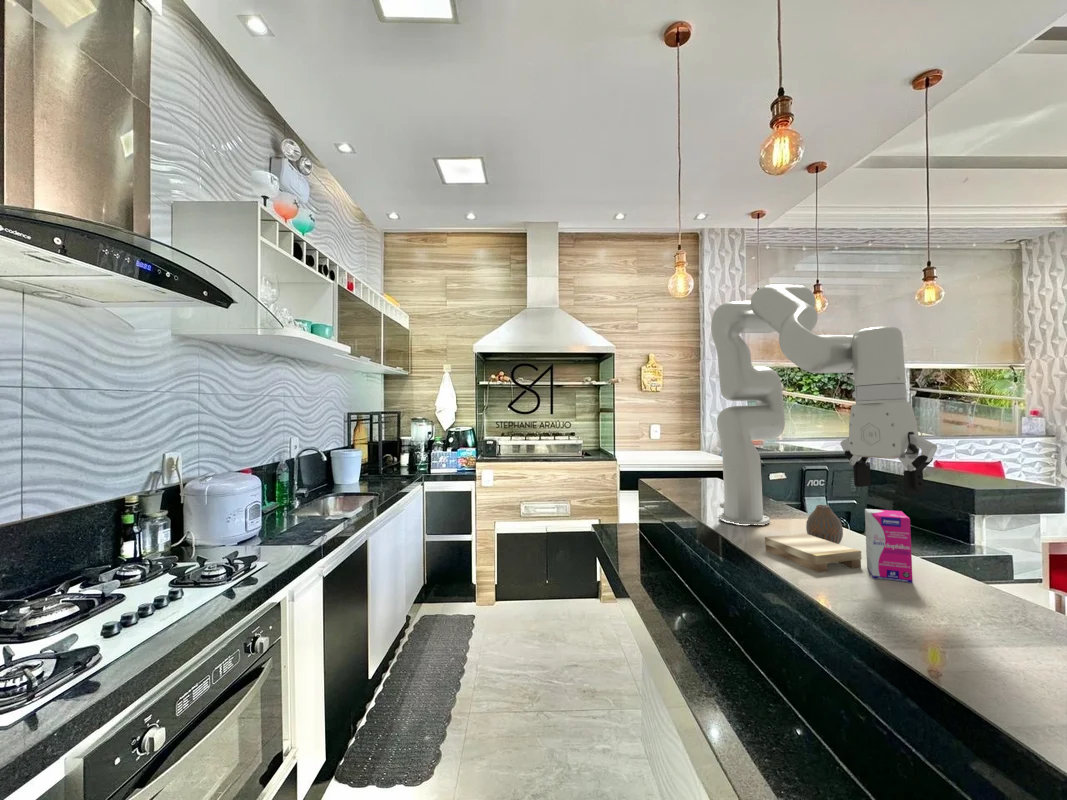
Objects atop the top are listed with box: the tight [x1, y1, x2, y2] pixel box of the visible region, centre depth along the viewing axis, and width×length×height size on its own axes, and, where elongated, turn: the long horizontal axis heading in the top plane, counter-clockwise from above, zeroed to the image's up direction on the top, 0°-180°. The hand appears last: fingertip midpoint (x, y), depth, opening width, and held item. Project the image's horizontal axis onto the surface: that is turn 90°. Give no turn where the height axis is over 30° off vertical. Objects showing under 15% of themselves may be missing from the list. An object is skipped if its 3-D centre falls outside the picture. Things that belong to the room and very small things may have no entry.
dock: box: [764, 532, 862, 573], centre depth 93 cm, size 14×10×3 cm
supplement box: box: [864, 508, 914, 584], centre depth 83 cm, size 6×6×12 cm
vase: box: [805, 504, 844, 544], centre depth 102 cm, size 7×7×9 cm
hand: (887, 489), depth 82 cm, fingers open, 9 cm apart
